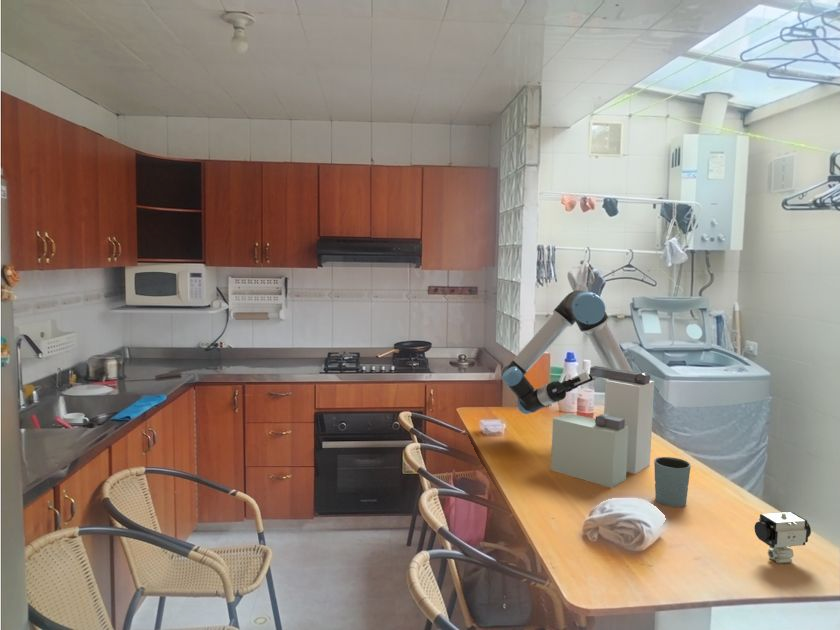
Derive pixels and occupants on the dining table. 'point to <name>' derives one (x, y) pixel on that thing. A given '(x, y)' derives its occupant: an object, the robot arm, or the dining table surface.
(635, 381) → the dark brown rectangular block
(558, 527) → the dining table surface
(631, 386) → the taupe rectangular block
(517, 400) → the robot arm
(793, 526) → the pneumatic valve
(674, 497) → the blue-grey cup
